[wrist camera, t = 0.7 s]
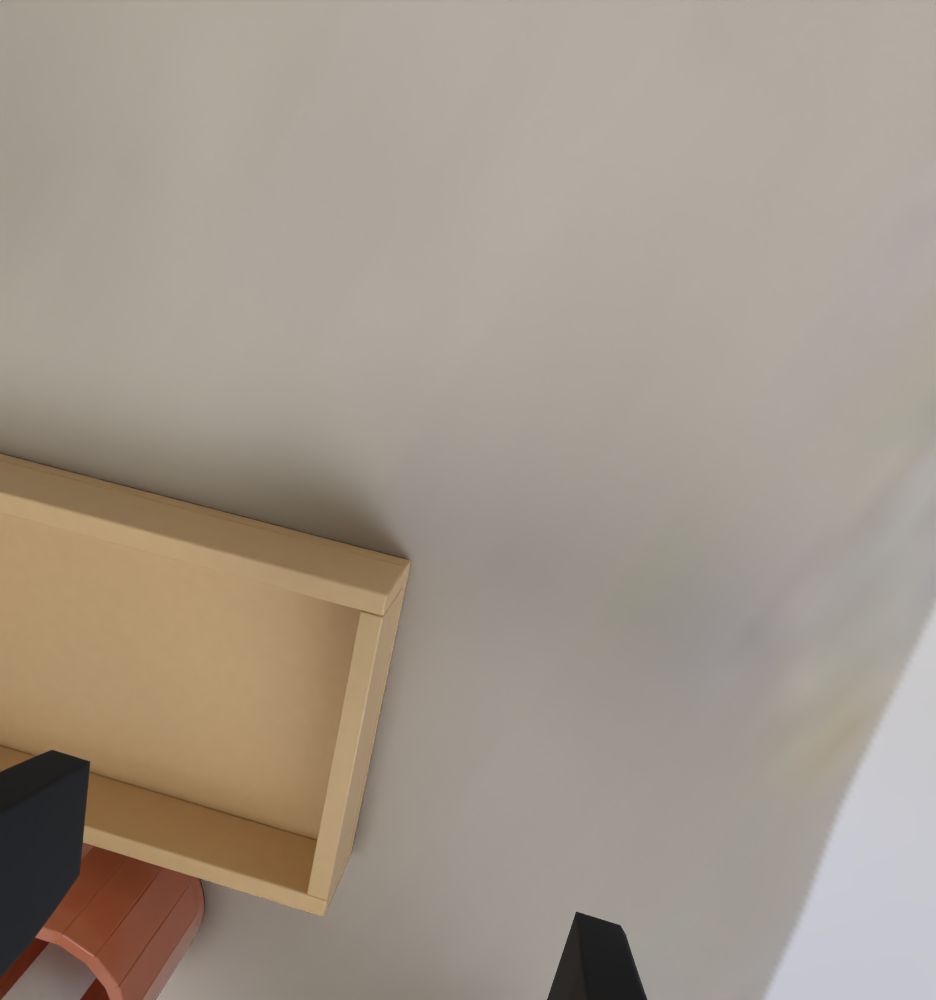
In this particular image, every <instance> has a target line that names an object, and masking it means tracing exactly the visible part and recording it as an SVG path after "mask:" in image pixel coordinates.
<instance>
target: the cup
mask: <svg viewBox="0 0 936 1000" xmlns="http://www.w3.org/2000/svg"><path fill="white" fill-rule="evenodd" d="M203 914H204V894H203V890H202V886H201V883H200V881H199V878H196V877H193V876H190V875H187V874H183V873H180V872H177V871H174V870H170V869H167V868H164V867H161V866H158V865H154V864H151V863H148V862H145V861H141V860H138V859H135V858H132V857H129V856H125V855H122V854H119V853H116V852H112V851H109V850H106V849H103V848H100V847H96V846H93V845H90V844H87V843H83V845H82V856H81V867H80V875H79V877H78V878H77V879H76V881H75V882H74V884H73V885H72V887H71V888H70V889H69V891H68V892H67V894H66V895H65V897H64V898H63V899H62V901H61V902H60V904H59V905H58V907H57V908H56V910H55V911H54V912H53V914H52V915H51V916H50V918H49V919H48V921H47V922H46V923H45V925H44V926H43V927H42V929H41V930H40V931H39V933H38V934H37V935H36V937H35V938H34V940H33V941H32V942H31V944H30V945H29V946H28V947H27V948H26V949H25V951H24V952H23V953H22V954H21V955H20V956H19V958H18V959H17V960H16V961H15V962H14V963H13V964H12V966H11V967H10V968H9V969H8V970H7V971H6V972H5V974H4V975H3V976H2V977H1V978H0V1000H2V998H3V997H4V996H5V995H6V994H7V992H8V991H9V990H10V989H11V988H12V987H13V985H14V984H15V983H16V982H17V981H18V979H19V978H20V977H21V976H22V975H23V974H24V972H25V971H26V970H27V969H28V968H29V966H30V965H31V964H32V963H33V962H34V961H35V959H36V958H37V957H38V956H39V955H40V953H41V952H42V951H43V950H44V949H45V947H46V946H47V945H48V944H49V943H53V944H56V945H59V946H60V947H62V948H63V949H65V950H66V951H68V952H69V953H71V954H72V955H73V956H75V957H76V958H78V959H79V960H81V961H82V962H84V963H85V964H86V965H87V966H88V967H89V969H90V970H91V971H92V972H93V974H94V975H95V976H96V978H95V980H94V981H93V983H92V984H91V985H90V987H89V988H88V989H87V991H86V992H85V993H84V995H83V996H82V998H81V999H80V1000H156V999H157V997H158V996H159V994H160V992H161V991H162V989H163V988H164V986H165V984H166V983H167V981H168V980H169V978H170V976H171V975H172V973H173V972H174V970H175V968H176V967H177V965H178V963H179V962H180V960H181V959H182V957H183V955H184V954H185V952H186V951H187V949H188V947H189V946H190V944H191V943H192V941H193V939H194V937H195V934H196V933H197V931H198V930H199V927H200V925H201V923H202V919H203Z"/></svg>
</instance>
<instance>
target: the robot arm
mask: <svg viewBox="0 0 936 1000" xmlns="http://www.w3.org/2000/svg"><path fill="white" fill-rule="evenodd" d="M89 771H90V761H87V760H84V759H81V758H78V757H74V756H71V755H68V754H65V753H61V752H58V751H55V750H50V751H48V752H45V753H43V754H40V755H38V756H35V757H33V758H31V759H28V760H26V761H24V762H21V763H19V764H17V765H14V766H12V767H10V768H8V769H5V770H3V771H1V772H0V978H1V977H2V976H3V975H4V974H5V972H6V971H7V970H8V969H9V968H10V967H11V966H12V964H13V963H14V962H15V961H16V960H17V959H18V958H19V956H20V955H21V954H22V953H23V952H24V951H25V949H26V948H27V947H28V946H29V945H30V944H31V942H32V941H33V940H34V938H35V937H36V935H37V934H38V933H39V931H40V930H41V929H42V927H43V926H44V925H45V923H46V922H47V921H48V919H49V918H50V916H51V915H52V914H53V912H54V911H55V910H56V908H57V907H58V905H59V904H60V902H61V901H62V899H63V898H64V897H65V895H66V894H67V892H68V891H69V889H70V888H71V887H72V885H73V884H74V882H75V881H76V879H77V878H78V877H79V875H80V867H81V856H82V845H83V835H84V824H85V813H86V803H87V792H88V782H89ZM547 1000H647V998H646V995H645V992H644V989H643V986H642V983H641V980H640V977H639V974H638V971H637V968H636V965H635V962H634V959H633V956H632V953H631V950H630V947H629V944H628V940H627V937H626V934H625V933H624V931H623V929H622V927H621V926H620V925H618V924H614V923H611V922H608V921H605V920H601V919H598V918H595V917H592V916H588V915H585V914H582V913H579V912H576V914H575V917H574V920H573V923H572V926H571V929H570V932H569V935H568V938H567V941H566V944H565V947H564V950H563V953H562V956H561V959H560V963H559V966H558V969H557V972H556V975H555V978H554V981H553V984H552V987H551V990H550V993H549V996H548V999H547Z"/></svg>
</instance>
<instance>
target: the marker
mask: <svg viewBox="0 0 936 1000" xmlns="http://www.w3.org/2000/svg"><path fill="white" fill-rule="evenodd" d="M95 978H96V976H95V975H94V974H93V972H92V971H91V970H90V969H89V967H88V966H87V965H86V964H85V963H84V962H82V961H81V960H79V959H78V958H76V957H75V956H73V955H72V954H71V953H69V952H68V951H66V950H65V949H63V948H62V947H60V946H59V945H56V944H53V943H49V944H48V945H47V946H46V947H45V949H44V950H43V951H42V952H41V953H40V955H39V956H38V957H37V958H36V959H35V961H34V962H33V963H32V964H31V965H30V966H29V968H28V969H27V970H26V971H25V972H24V974H23V975H22V976H21V977H20V978H19V979H18V981H17V982H16V983H15V984H14V985H13V987H12V988H11V989H10V990H9V991H8V992H7V994H6V995H5V996H4V997H3V998H2V1000H80V999H81V998H82V996H83V995H84V993H85V992H86V991H87V989H88V988H89V987H90V985H91V984H92V983H93V981H94V980H95Z"/></svg>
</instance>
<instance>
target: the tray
mask: <svg viewBox="0 0 936 1000" xmlns="http://www.w3.org/2000/svg"><path fill="white" fill-rule="evenodd" d="M410 565H411V561H410V560H406V559H402V558H399V557H395V556H391V555H387V554H383V553H379V552H376V551H372V550H368V549H364V548H360V547H356V546H352V545H349V544H345V543H341V542H337V541H333V540H329V539H326V538H322V537H318V536H314V535H310V534H306V533H303V532H299V531H295V530H291V529H287V528H283V527H280V526H276V525H272V524H268V523H264V522H260V521H257V520H253V519H249V518H245V517H241V516H237V515H234V514H230V513H226V512H222V511H218V510H214V509H211V508H207V507H203V506H199V505H195V504H191V503H187V502H184V501H180V500H176V499H172V498H168V497H164V496H161V495H157V494H153V493H149V492H145V491H141V490H138V489H134V488H130V487H126V486H122V485H118V484H115V483H111V482H107V481H103V480H99V479H95V478H92V477H88V476H84V475H80V474H76V473H72V472H69V471H65V470H61V469H57V468H53V467H49V466H45V465H42V464H38V463H34V462H30V461H26V460H22V459H19V458H15V457H11V456H7V455H3V454H0V772H1V771H3V770H5V769H8V768H10V767H12V766H14V765H17V764H19V763H21V762H24V761H26V760H28V759H31V758H33V757H35V756H38V755H40V754H43V753H45V752H48V751H50V750H55V751H58V752H61V753H65V754H68V755H71V756H74V757H78V758H81V759H84V760H87V761H90V771H89V782H88V792H87V803H86V813H85V824H84V835H83V843H87V844H90V845H93V846H96V847H100V848H103V849H106V850H109V851H112V852H116V853H119V854H122V855H125V856H129V857H132V858H135V859H138V860H141V861H145V862H148V863H151V864H154V865H158V866H161V867H164V868H167V869H170V870H174V871H177V872H180V873H183V874H187V875H190V876H193V877H196V878H199V879H203V880H206V881H209V882H212V883H216V884H219V885H222V886H225V887H228V888H232V889H235V890H238V891H241V892H245V893H248V894H251V895H254V896H257V897H261V898H264V899H267V900H270V901H274V902H277V903H280V904H283V905H286V906H290V907H293V908H296V909H299V910H303V911H306V912H309V913H312V914H315V915H319V916H324V915H325V913H326V911H327V909H328V906H329V904H330V902H331V899H332V897H333V895H334V892H335V890H336V888H337V885H338V883H339V881H340V879H341V876H342V874H343V872H344V869H345V867H346V864H347V862H348V860H349V858H350V856H351V853H352V848H353V843H354V838H355V833H356V828H357V823H358V819H359V814H360V809H361V804H362V799H363V794H364V789H365V784H366V779H367V775H368V770H369V765H370V760H371V755H372V750H373V745H374V740H375V736H376V731H377V726H378V721H379V716H380V711H381V706H382V701H383V696H384V692H385V687H386V682H387V677H388V672H389V667H390V662H391V657H392V653H393V648H394V643H395V638H396V633H397V628H398V623H399V618H400V613H401V609H402V604H403V599H404V594H405V589H406V584H407V579H408V574H409V570H410Z"/></svg>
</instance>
